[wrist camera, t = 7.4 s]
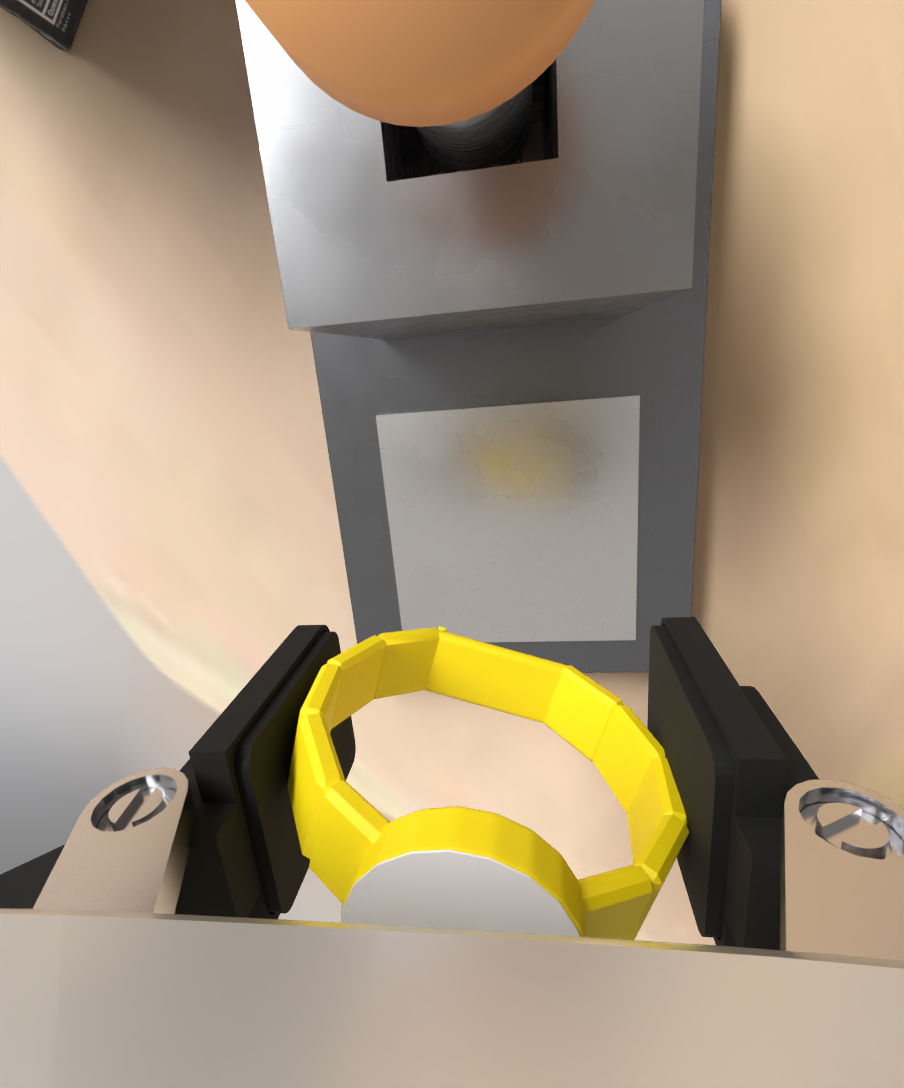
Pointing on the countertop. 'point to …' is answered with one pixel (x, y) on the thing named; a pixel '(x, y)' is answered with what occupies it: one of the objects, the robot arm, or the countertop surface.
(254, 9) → the light orange ellipsoid
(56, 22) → the small box
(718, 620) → the countertop surface
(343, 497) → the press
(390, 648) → the watch
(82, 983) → the robot arm
